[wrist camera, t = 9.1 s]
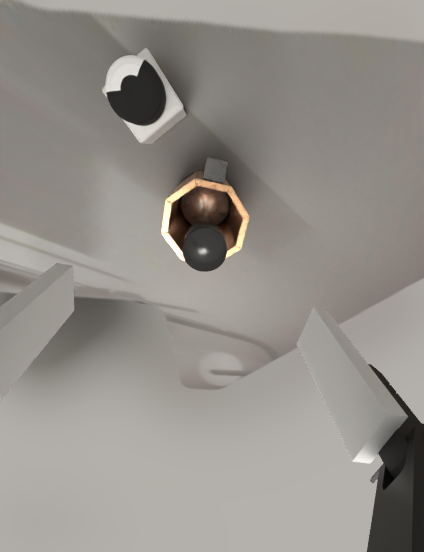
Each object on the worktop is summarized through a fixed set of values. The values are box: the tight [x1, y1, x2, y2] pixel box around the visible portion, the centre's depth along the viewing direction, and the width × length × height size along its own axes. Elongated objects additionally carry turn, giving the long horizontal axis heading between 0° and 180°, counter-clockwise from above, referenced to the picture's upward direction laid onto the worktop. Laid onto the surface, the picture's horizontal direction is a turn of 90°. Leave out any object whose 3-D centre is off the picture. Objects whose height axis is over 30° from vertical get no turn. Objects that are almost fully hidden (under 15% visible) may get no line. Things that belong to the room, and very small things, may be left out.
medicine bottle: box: [102, 48, 187, 144], centre depth 32 cm, size 7×7×12 cm
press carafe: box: [162, 156, 249, 261], centre depth 37 cm, size 10×12×14 cm
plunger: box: [182, 186, 228, 271], centre depth 33 cm, size 8×8×22 cm
